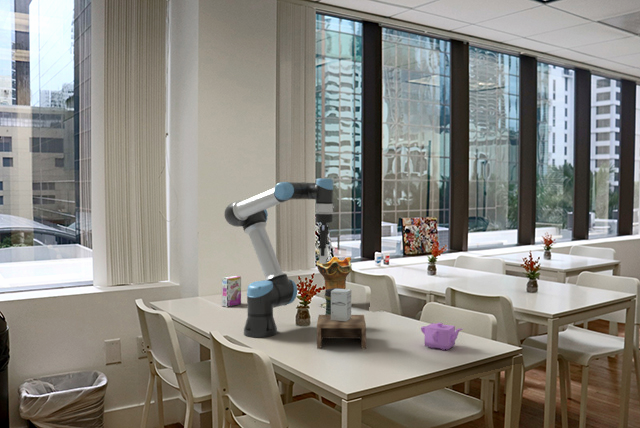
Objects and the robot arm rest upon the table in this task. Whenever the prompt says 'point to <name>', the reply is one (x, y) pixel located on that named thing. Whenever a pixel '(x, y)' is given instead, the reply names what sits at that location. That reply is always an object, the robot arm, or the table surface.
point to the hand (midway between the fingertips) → (323, 261)
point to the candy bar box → (231, 291)
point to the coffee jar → (328, 300)
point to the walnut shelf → (341, 329)
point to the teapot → (440, 335)
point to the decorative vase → (335, 273)
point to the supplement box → (341, 304)
